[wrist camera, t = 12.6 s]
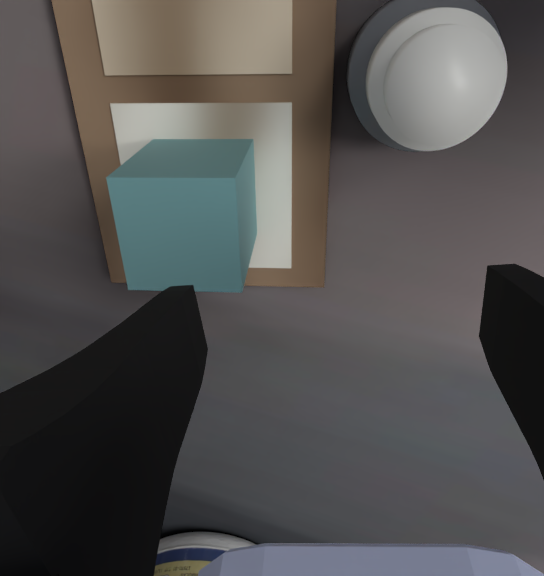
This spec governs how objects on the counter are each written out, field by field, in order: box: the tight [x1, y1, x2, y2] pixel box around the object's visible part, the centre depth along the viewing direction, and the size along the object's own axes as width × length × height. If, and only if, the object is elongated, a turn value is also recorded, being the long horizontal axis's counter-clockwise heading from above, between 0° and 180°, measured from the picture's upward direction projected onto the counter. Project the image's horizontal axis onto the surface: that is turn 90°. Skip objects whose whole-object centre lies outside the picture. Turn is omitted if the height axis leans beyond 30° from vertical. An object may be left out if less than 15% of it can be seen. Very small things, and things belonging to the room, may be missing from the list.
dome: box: [366, 7, 507, 151], centre depth 15 cm, size 4×4×2 cm
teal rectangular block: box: [106, 139, 257, 292], centre depth 18 cm, size 4×4×5 cm
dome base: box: [346, 0, 501, 152], centre depth 17 cm, size 5×5×2 cm
